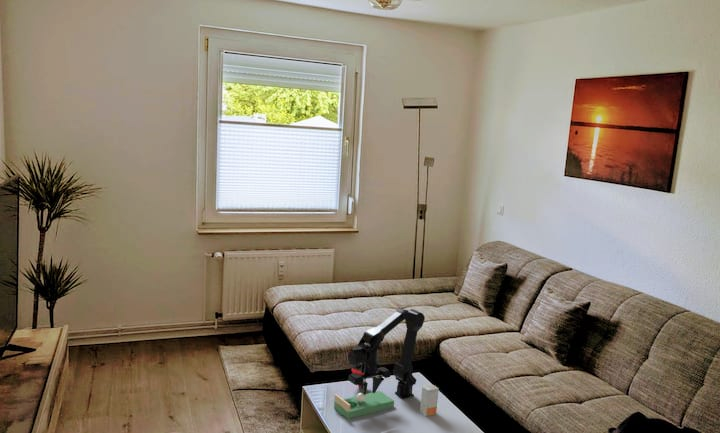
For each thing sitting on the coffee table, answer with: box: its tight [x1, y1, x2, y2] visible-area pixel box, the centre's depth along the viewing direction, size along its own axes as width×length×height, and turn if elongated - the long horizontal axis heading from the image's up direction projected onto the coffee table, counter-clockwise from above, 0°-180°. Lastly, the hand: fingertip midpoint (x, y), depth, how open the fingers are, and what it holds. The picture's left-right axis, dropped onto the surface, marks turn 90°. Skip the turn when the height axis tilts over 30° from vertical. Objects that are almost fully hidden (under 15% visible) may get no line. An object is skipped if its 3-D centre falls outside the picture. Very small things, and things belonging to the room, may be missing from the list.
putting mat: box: [333, 390, 395, 420], centre depth 245 cm, size 24×11×6 cm, turn 124°
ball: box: [356, 392, 366, 402], centre depth 244 cm, size 4×4×4 cm
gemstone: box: [350, 367, 363, 388], centre depth 264 cm, size 9×9×10 cm
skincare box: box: [419, 384, 440, 417], centre depth 243 cm, size 6×4×12 cm
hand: (368, 394), depth 246 cm, fingers open, 5 cm apart
